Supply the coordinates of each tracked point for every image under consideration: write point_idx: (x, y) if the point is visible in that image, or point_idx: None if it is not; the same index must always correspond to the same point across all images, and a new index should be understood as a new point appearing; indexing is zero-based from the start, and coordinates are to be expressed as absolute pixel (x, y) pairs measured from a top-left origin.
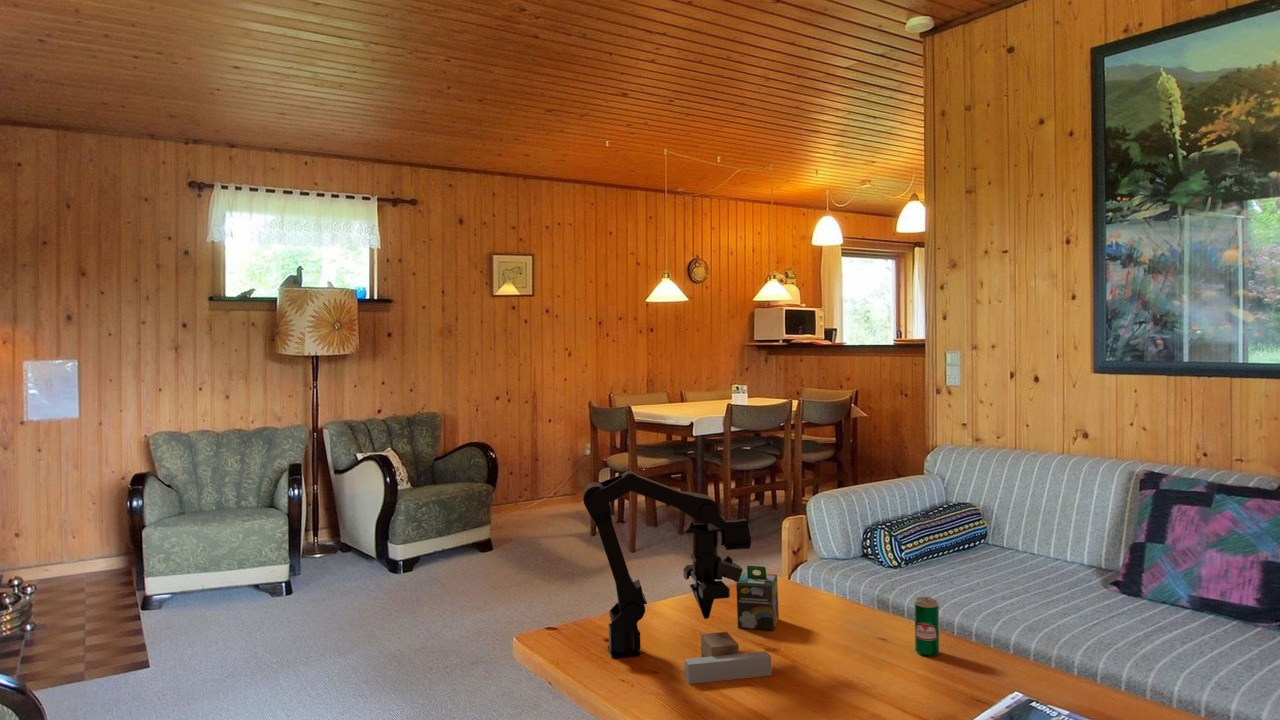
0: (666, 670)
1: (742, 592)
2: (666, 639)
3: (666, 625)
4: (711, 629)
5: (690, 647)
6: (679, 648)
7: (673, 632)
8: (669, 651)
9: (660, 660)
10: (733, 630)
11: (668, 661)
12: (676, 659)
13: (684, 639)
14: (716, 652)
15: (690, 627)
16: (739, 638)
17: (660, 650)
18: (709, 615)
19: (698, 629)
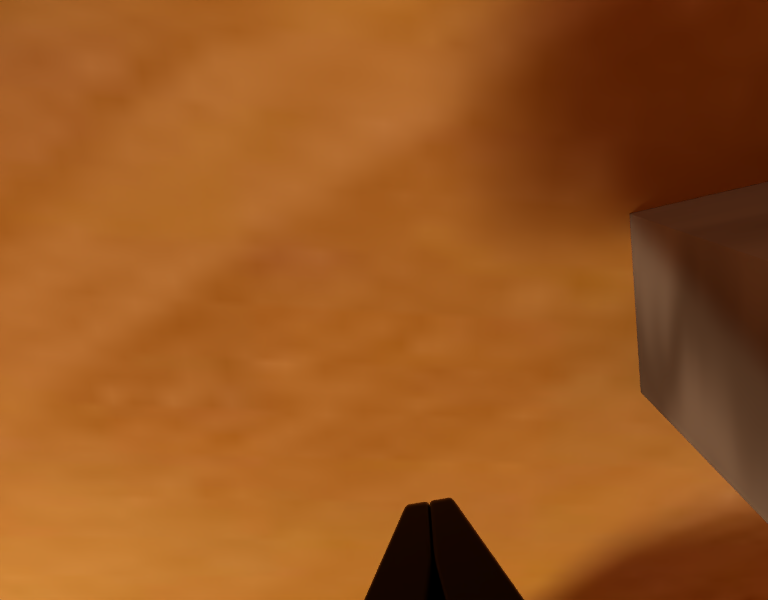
0: (740, 567)
1: None
2: (273, 564)
3: (32, 563)
4: (32, 296)
5: (406, 446)
6: None
7: (148, 530)
8: None
9: (593, 591)
10: (8, 108)
11: (615, 558)
12: (593, 521)
13: (264, 475)
14: None
15: (29, 435)
16: (200, 67)
17: None
18: (464, 518)
19: (56, 386)
